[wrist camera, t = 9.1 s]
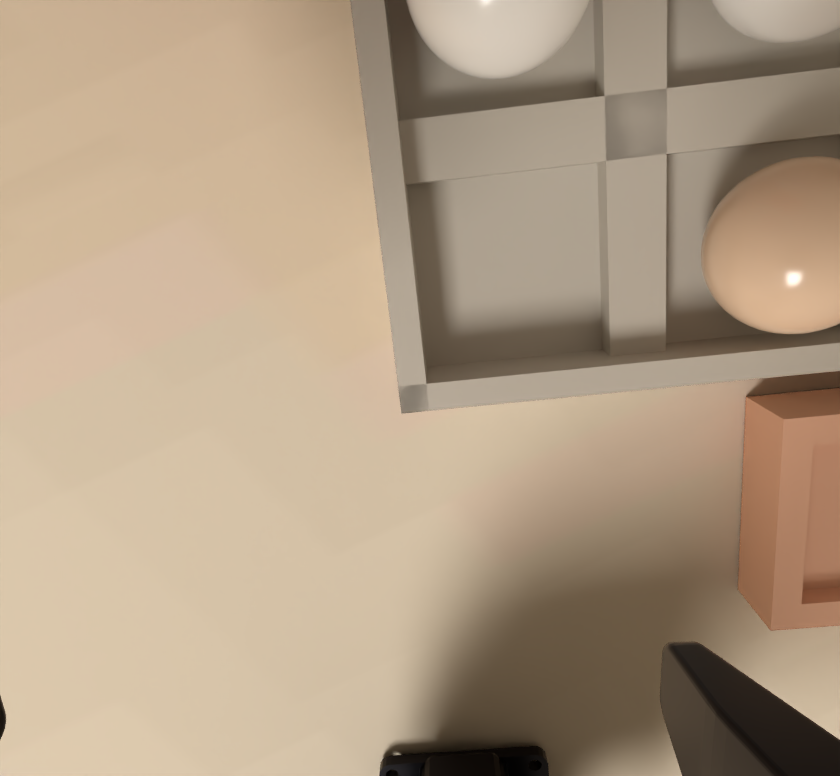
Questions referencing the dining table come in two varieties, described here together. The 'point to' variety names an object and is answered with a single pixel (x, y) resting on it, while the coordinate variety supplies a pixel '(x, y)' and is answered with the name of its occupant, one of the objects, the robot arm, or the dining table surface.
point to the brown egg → (778, 247)
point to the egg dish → (791, 509)
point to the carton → (581, 202)
